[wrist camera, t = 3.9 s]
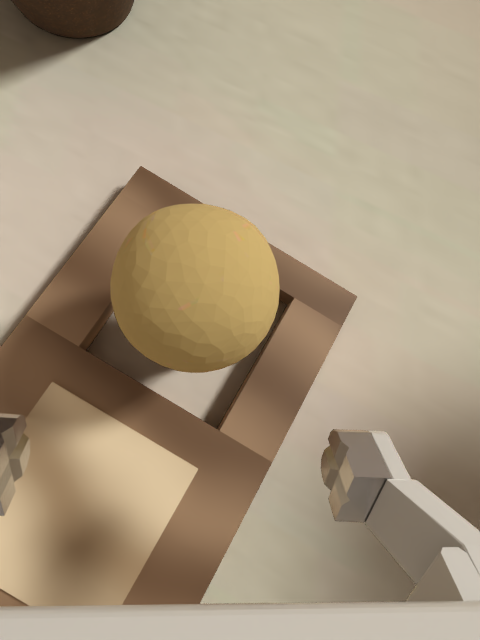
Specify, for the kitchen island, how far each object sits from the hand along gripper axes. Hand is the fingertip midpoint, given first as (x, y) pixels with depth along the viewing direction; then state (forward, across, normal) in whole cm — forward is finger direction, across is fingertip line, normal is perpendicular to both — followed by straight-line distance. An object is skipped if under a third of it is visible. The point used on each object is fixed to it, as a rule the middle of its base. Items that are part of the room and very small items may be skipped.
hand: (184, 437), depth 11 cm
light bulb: (+11, 0, +4) cm, 12 cm away
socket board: (+8, +2, +7) cm, 11 cm away
